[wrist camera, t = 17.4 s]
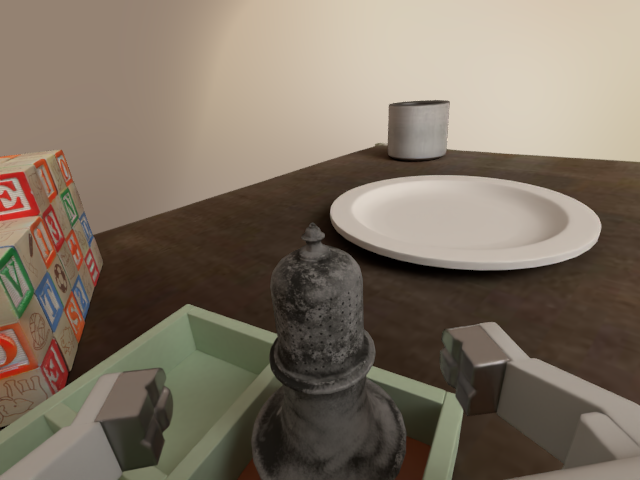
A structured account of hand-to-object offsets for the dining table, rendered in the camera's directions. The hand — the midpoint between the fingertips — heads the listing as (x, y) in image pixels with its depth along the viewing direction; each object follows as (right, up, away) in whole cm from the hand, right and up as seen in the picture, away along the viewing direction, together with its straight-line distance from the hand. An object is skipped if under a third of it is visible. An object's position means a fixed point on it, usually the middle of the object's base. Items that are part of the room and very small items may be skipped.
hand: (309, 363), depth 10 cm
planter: (+22, +22, +68) cm, 74 cm away
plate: (+16, +5, +31) cm, 35 cm away
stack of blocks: (-22, -3, +18) cm, 28 cm away
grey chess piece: (+1, -7, +5) cm, 9 cm away
